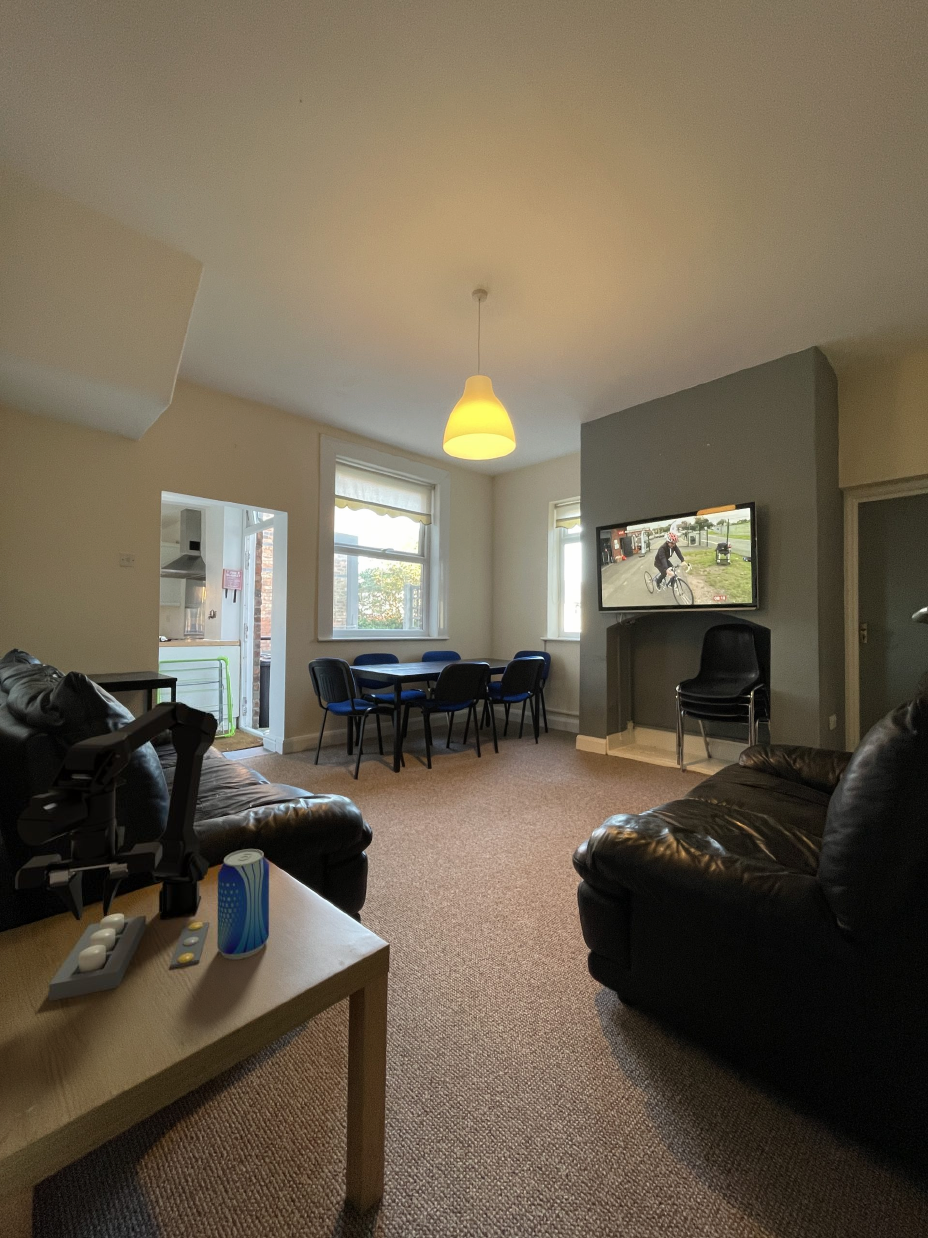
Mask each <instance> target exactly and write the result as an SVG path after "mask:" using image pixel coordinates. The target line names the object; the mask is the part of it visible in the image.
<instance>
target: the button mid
mask: <svg viewBox="0 0 928 1238" xmlns="http://www.w3.org/2000/svg"><path fill="white" fill-rule="evenodd" d="M95 945H104V946H105V947H106V952H110V951H111V950H113V949H114V947H115V929H111V928H109V929H103V930H100V931H98V932H96V933H94V934H93V935H92V936H91V937H90V947H92V946H95Z"/></svg>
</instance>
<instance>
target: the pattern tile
mask: <svg viewBox="0 0 928 1238" xmlns="http://www.w3.org/2000/svg"><path fill="white" fill-rule="evenodd" d="M209 928H210V921H207V922H201V921H197V922H193V923H191V924H189V925H184V926H183V927H182V930H181V932H180V936H179V938H178V941H177V944H176V946H175V950H174V953H173V956H172V958H171V961H170V963H169V969H172V968H177V967H183V966H187V965H193V964H198V963H200V961H201V959H202V958H201V957H202V953H203V950H204V946H205V942H206V938H207V934H208V930H209Z"/></svg>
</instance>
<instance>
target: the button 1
mask: <svg viewBox="0 0 928 1238" xmlns="http://www.w3.org/2000/svg"><path fill="white" fill-rule="evenodd" d="M105 963H106V947H105V946H104V945H95V946H92V947H89V948H87V949H85V950H83V951H82V952H81V953H80V954H79V973H86V972H91V971H96V970H100V969H101V968H103V967H104V966H105Z"/></svg>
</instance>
